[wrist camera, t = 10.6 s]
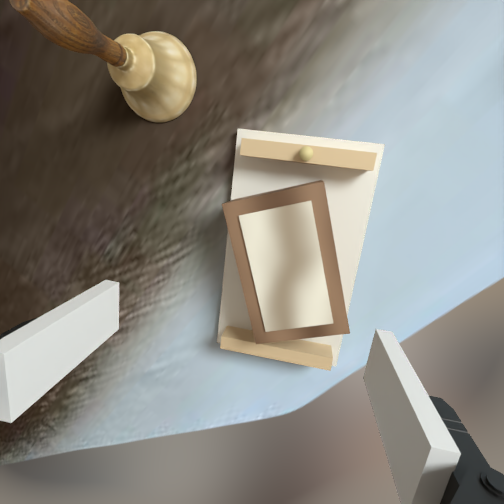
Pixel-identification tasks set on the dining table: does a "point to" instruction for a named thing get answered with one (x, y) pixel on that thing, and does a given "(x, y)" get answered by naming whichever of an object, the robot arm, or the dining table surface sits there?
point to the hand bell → (123, 57)
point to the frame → (288, 263)
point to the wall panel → (341, 214)
